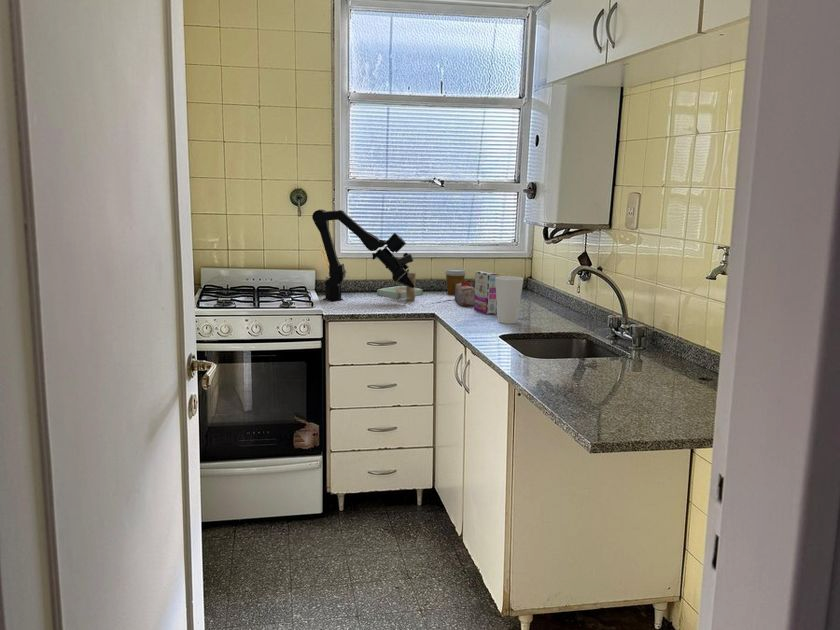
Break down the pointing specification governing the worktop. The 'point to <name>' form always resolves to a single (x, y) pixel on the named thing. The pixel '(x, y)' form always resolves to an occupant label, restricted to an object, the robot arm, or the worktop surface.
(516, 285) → the cup
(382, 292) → the tray
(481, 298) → the candy bar box
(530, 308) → the worktop surface
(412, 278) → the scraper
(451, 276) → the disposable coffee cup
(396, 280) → the robot arm
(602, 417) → the worktop surface
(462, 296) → the food item
